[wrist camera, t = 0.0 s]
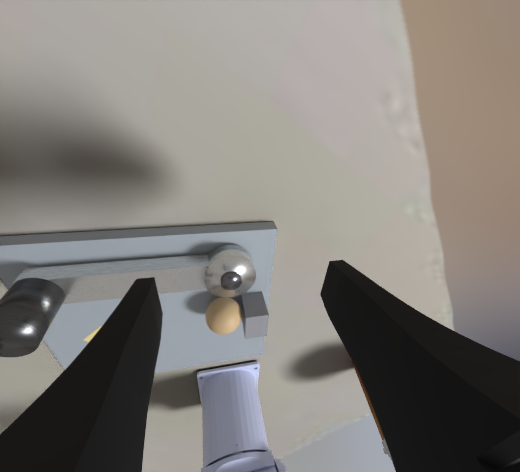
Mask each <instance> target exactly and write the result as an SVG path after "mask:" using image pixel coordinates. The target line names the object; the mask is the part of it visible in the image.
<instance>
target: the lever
mask: <svg viewBox="0 0 520 472" xmlns="http://www.w3.org/2000/svg"><path fill="white" fill-rule="evenodd" d="M150 277H154V278H155V282H156V286H157V291H158V294H165V293H174V292H184V291H193V290H202V289H208V290H209V291H210V292H211V293H212V294H214V295H217V296H220V297H234V296H238V295H241V294H243V293H245V292H246V291H248V290H249V289H250V288H251V287H252V286H253V284H254V282H255V280H256V271H255V268H254V264H253V261H252V257H251V255H250V253H249V252H248V251H247V250H246V249H245V248H243V247H241V246H238V245H223V246H220V247H217V248H215V249H214V250H212V251H211V252H210V253H209V254H205V255H193V256H180V257H167V258H154V259H141V260H128V261H116V262H103V263H90V264H77V265H64V266H51V267H39V268H26V269H24V270H23V272H22V273H21V274H20V275H19V276H18V277H17V279H16V280H15V281H14V282H13V285H12V286H11V287H10V288H9V290H8V291H7V292H6V293H5V294H4V296H3V297H2V298H1V299H0V357H19V356H24V355H27V354H30V353H32V352H34V351H35V350H36V349H37V348H38V346H39V344H40V342H41V341H42V339H43V337H44V335H45V334H46V332H47V330H48V328H49V327H50V325H51V323H52V321H53V320H54V318H55V316H56V314H57V313H58V311H59V309H60V307H61V306H62V304H70V303H80V302H89V301H99V300H108V299H118V298H123V297H124V296H125V294H126V293H127V291H128V290H129V289H130V287H131V286H132V284H133V283H134V281H135V280H136V279H139V278H150Z"/></svg>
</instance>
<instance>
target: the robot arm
mask: <svg viewBox="0 0 520 472" xmlns="http://www.w3.org/2000/svg"><path fill="white" fill-rule="evenodd" d="M321 297H322V300H323V303H324V306H325V308H326V311H327V313H328V316H329V318H330V320H331V322H332V323H333V325H334V327H335V329H336V331H337V333H338V335H339V337H340V339H341V340H342V342H343V344H344V346H345V348H346V350H347V352H348V353H349V355H350V357H351V359H352V361H353V363H354V365H355V367H356V369H357V371H358V373H359V375H360V378H361V380H362V382H363V385H364V387H365V389H366V392H367V394H368V397H369V399H370V402H371V404H372V407H373V409H374V412H375V414H376V417H377V419H378V422H379V425H380V427H381V430H382V433H383V436H384V438H385V441H386V444H387V447H388V449H389V452H390V455H391V458H392V461H393V464H394V467H395V470H396V472H520V361H517V360H515V359H513V358H510V357H508V356H506V355H503V354H501V353H499V352H496V351H494V350H492V349H490V348H487V347H485V346H483V345H481V344H479V343H477V342H475V341H473V340H471V339H469V338H467V337H465V336H463V335H460V334H458V333H457V332H455V331H453V330H451V329H449V328H447V327H445V326H443V325H441V324H440V323H438V322H436V321H434V320H432V319H431V318H429V317H427V316H425V315H424V314H422V313H420V312H419V311H417V310H415V309H414V308H412V307H411V306H409V305H407V304H406V303H404V302H403V301H401V300H400V299H398V298H397V297H395V296H394V295H392V294H391V293H389V292H388V291H386V290H385V289H383V288H382V287H380V286H379V285H378V284H376V283H375V282H373V281H372V280H370V279H369V278H368V277H366V276H365V275H363V274H362V273H361V272H359V271H358V270H356V269H355V268H354V267H352V266H351V265H349V264H348V263H346V262H345V261H343V260H338V261H330V262H329V266H328V269H327V273H326V276H325V280H324V283H323V287H322V290H321ZM162 317H163V312H162V308H161V303H160V299H159V295H158V291H157V286H156V282H155V278H154V277H150V278H139V279H136V280H135V281H134V283H133V284H132V286H131V287H130V289H129V290H128V291H127V293H126V294H125V296H124V297H123V299H122V300H121V301H120V303H119V304H118V306H117V307H116V308H115V310H114V311H113V312H112V314H111V315H110V316H109V318H108V319H107V320H106V322H105V323H104V324H103V325H102V327H101V328H100V329H99V331H98V332H97V333H96V334H95V336H94V337H93V338H92V339H91V340H90V342H89V343H88V344H87V345H86V346H85V348H84V349H83V350H82V351H81V352H80V354H79V355H78V356H77V357H76V358H75V359H74V360H73V362H72V363H71V364H70V365H69V366H68V367H67V368H66V369H65V370H64V371H63V373H62V374H61V375H60V376H59V377H58V378H57V379H56V380H55V381H54V382H53V383H52V384H51V385H50V386H49V387H48V388H47V389H46V390H45V392H44V393H43V394H42V395H41V396H40V397H38V398H37V399H36V400H35V401H34V402H33V403H32V404H31V405H30V406H29V407H28V408H27V409H26V410H25V411H24V412H23V413H22V414H21V415H20V416H19V417H18V418H17V419H16V420H15V421H14V422H13V423H12V424H11V425H10V426H9V427H8V428H7V429H6V430H5V431H3V432H2V433H1V434H0V472H142V460H143V449H144V439H145V429H146V419H147V412H148V405H149V399H150V394H151V389H152V383H153V378H154V373H155V368H156V363H157V357H158V352H159V347H160V341H161V331H162ZM259 367H260V365H259V362H250V363H244V364H239V365H233V366H227V367H221V368H215V369H209V370H204V371H199V372H198V373H197V381H198V387H199V394H200V400H201V407H202V419H203V468H202V469H201V472H288V471H287V468H286V466H285V465H284V464H283V463H282V462H281V461H280V460H279V459H274V458H273V453H272V451H269V449H268V444H267V438H266V433H265V428H264V422H263V417H262V411H261V406H260V401H259V395H258V390H257V385H258V376H259Z"/></svg>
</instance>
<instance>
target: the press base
mask: <svg viewBox="0 0 520 472" xmlns="http://www.w3.org/2000/svg"><path fill="white" fill-rule="evenodd" d="M276 236H277V227H276V225H275V223H274V221H273V222H255V223H236V224H218V225H199V226H181V227H162V228H144V229H125V230H107V231H89V232H70V233H52V234H33V235H15V236H0V278H1V280H2V281H3V283H4V284H5V286H6V287H7V288H8V290H9V288H10V287H11V286H12V285H13V282H14V281H15V280H16V279H17V277H18V276H19V275H20V274H21V273H22V272H23V270H24V269H26V268H39V267H51V266H64V265H77V264H90V263H103V262H116V261H128V260H141V259H154V258H167V257H180V256H193V255H205V254H209V253H210V252H211V251H212V250H214V249H215V248H217V247H220V246H223V245H238V246H241V247H243V248H245V249H246V250H247V251H248V252H249V253H250V255H251V257H252V261H253V264H254V268H255V271H256V280H255V282H254V284H253V286H252V287H251V288H250V289H249V290H248V291H246V292H245V293H243V294H241V295H238V296H234V297H220V296H217V295H214V294H212V293H211V292H210V291H209V290H208V289H202V290H193V291H184V292H174V293H165V294H158V295H159V299H160V303H161V308H162V312H163V317H162V331H161V341H160V347H159V352H158V357H157V363H156V368H155V373H157V372H163V371H169V370H175V369H181V368H187V367H193V366H199V365H205V364H211V363H217V362H223V361H229V360H235V359H241V358H247V357H253V356H259V355H263V346H264V338H265V336H266V334H267V326H268V318H269V314H268V304H269V295H270V287H271V278H272V270H273V261H274V253H275V244H276ZM122 299H123V298H118V299H108V300H99V301H89V302H80V303H70V304H62V306H61V307H60V309H59V311H58V313H57V314H56V316H55V318H54V320H53V321H52V323H51V325H50V327H49V328H48V330H47V332H46V334H45V335H44V337H43V340H44V341H45V343H46V344H47V345H48V347H49V348H50V350H51V351H52V352H53V354H54V355H55V357H56V358H57V360H58V361H59V362H60V364H61V365H62V367H63V368H64V370H65V369H66V368H67V367H68V366H69V365H70V364H71V363H72V362H73V360H74V359H75V358H76V357H77V356H78V355H79V354H80V352H81V351H82V350H83V349H84V348H85V346H86V345H87V344H88V343H89V342H90V340H91V339H92V338H93V337H94V336H95V334H96V333H97V332H98V331H99V329H100V328H101V327H102V325H103V324H104V323H105V322H106V320H107V319H108V318H109V316H110V315H111V314H112V312H113V311H114V310H115V308H116V307H117V306H118V304H119V303H120V301H121V300H122Z"/></svg>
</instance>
